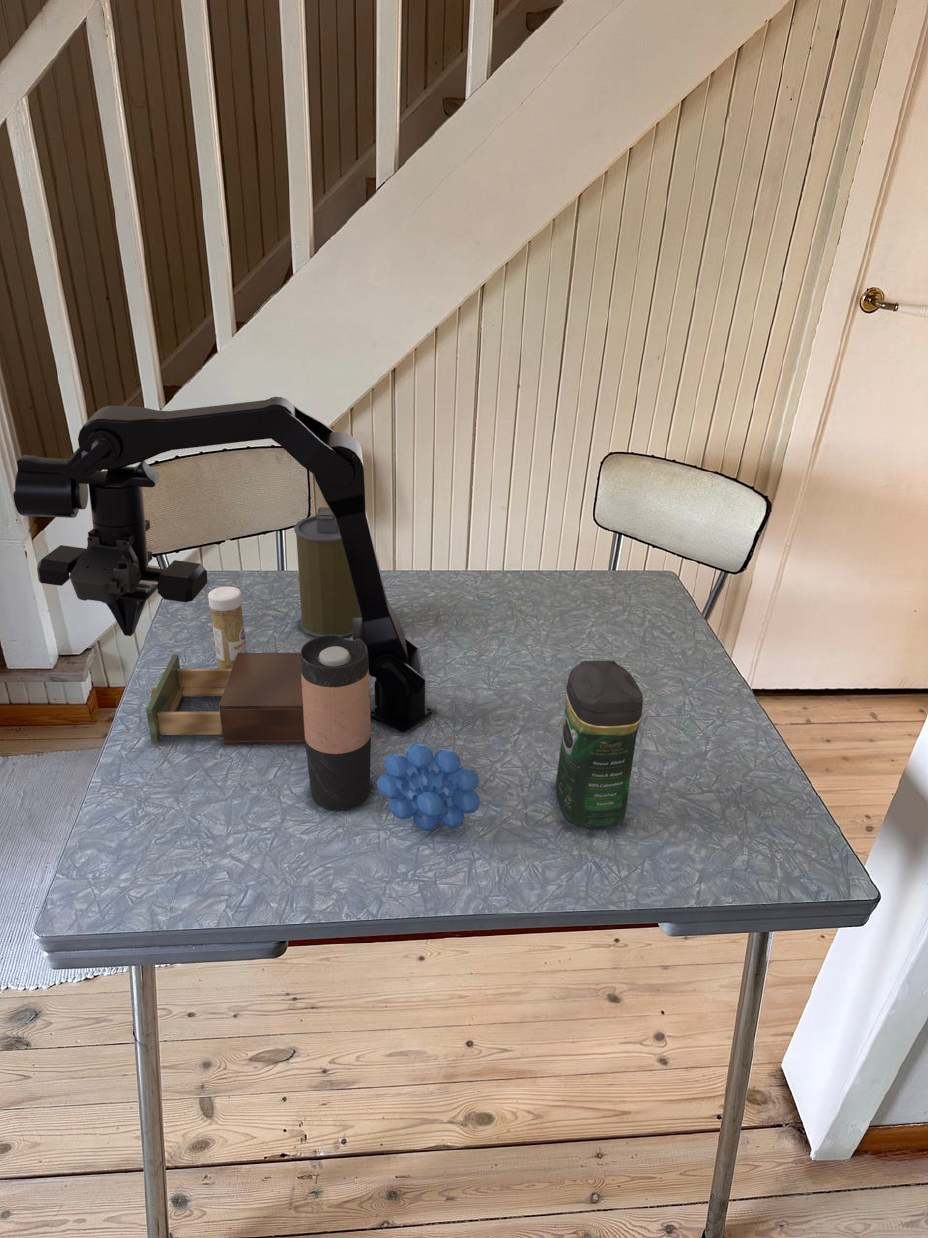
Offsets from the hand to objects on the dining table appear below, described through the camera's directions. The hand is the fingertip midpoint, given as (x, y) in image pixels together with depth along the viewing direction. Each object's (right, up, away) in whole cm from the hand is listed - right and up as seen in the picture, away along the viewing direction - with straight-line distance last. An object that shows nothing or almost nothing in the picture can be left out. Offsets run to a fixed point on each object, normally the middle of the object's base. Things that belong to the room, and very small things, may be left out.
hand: (129, 634), depth 105 cm
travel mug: (+27, -19, -3) cm, 33 cm away
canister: (+20, +1, +34) cm, 40 cm away
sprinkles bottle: (+8, -6, +20) cm, 22 cm away
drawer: (+7, -11, +10) cm, 16 cm away
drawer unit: (+16, -11, +10) cm, 22 cm away
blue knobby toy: (+38, -23, -9) cm, 45 cm away
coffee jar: (+57, -21, -4) cm, 61 cm away
